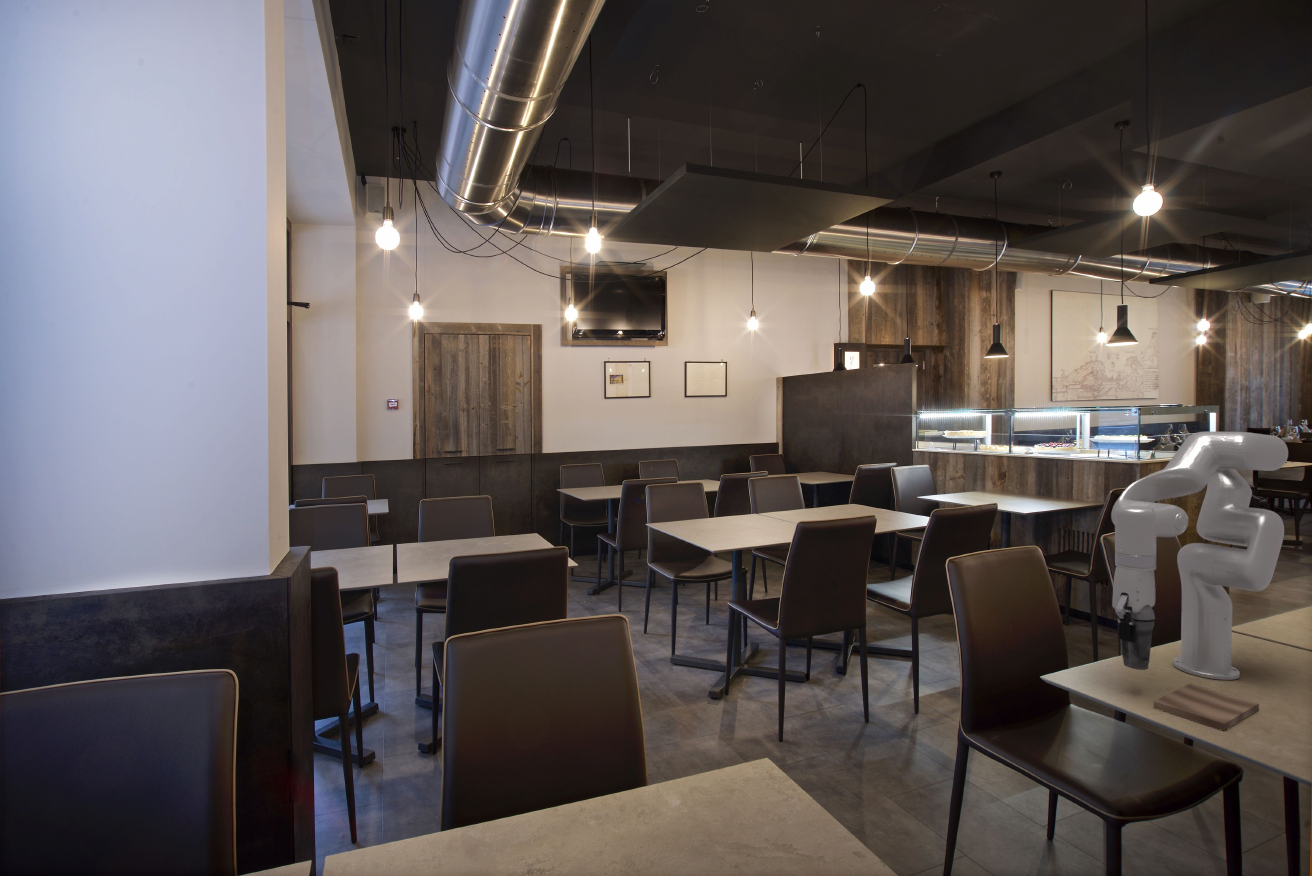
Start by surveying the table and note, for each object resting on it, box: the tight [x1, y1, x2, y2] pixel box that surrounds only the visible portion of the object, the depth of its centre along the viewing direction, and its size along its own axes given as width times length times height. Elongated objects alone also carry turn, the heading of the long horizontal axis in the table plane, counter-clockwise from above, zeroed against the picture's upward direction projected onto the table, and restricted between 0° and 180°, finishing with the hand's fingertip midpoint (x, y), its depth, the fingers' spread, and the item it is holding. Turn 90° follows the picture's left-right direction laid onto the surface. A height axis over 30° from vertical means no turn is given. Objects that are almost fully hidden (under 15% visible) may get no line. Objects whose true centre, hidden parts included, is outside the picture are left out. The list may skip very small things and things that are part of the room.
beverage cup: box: [1115, 605, 1157, 671], centre depth 145 cm, size 7×7×20 cm
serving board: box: [1153, 683, 1260, 732], centre depth 137 cm, size 18×12×2 cm, turn 120°
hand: (1135, 636), depth 145 cm, fingers closed on beverage cup, 6 cm apart
